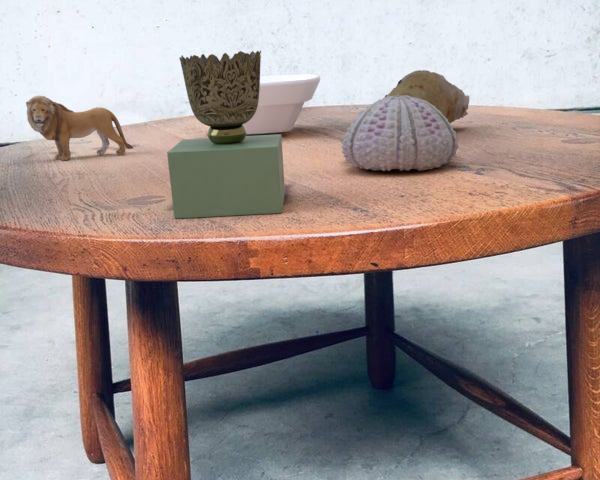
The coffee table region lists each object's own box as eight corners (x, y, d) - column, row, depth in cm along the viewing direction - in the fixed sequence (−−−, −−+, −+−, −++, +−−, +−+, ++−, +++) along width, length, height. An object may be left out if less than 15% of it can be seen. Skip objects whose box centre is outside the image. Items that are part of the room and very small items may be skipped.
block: (174, 218, 83) (166, 152, 81) (188, 199, 93) (182, 139, 90) (281, 213, 83) (277, 146, 81) (285, 194, 92) (281, 134, 90)
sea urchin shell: (358, 160, 113) (355, 92, 110) (466, 158, 108) (467, 88, 105) (328, 177, 101) (325, 102, 98) (449, 176, 97) (449, 98, 94)
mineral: (407, 82, 114) (337, 97, 119) (421, 154, 117) (352, 166, 122) (466, 56, 135) (404, 69, 140) (475, 118, 139) (414, 129, 143)
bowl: (186, 146, 137) (180, 87, 134) (204, 131, 156) (199, 79, 153) (321, 139, 136) (318, 79, 133) (323, 125, 155) (321, 72, 152)
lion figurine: (38, 164, 126) (27, 97, 123) (30, 161, 131) (20, 96, 127) (138, 153, 132) (131, 89, 129) (128, 150, 137) (120, 88, 133)
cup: (180, 142, 88) (171, 55, 84) (252, 135, 90) (246, 50, 87) (200, 150, 81) (191, 55, 78) (277, 142, 83) (271, 49, 80)
